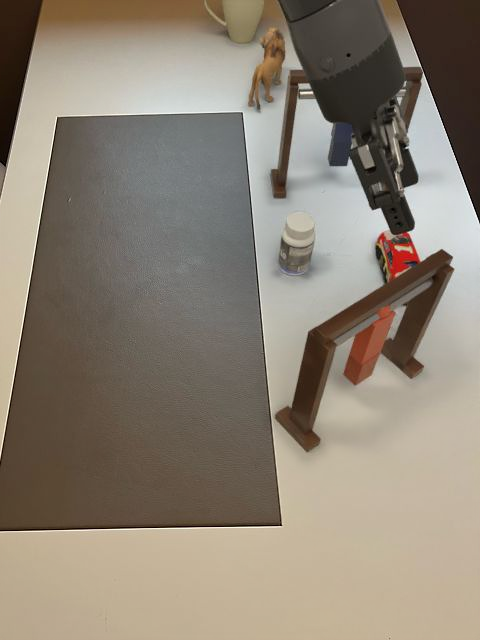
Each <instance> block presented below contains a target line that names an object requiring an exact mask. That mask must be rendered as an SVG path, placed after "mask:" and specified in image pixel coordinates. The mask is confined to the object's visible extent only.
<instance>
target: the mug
mask: <svg viewBox="0 0 480 640" xmlns="http://www.w3.org/2000/svg"><path fill="white" fill-rule="evenodd" d="M221 1H222V11H223V16H224V20H222V19H221V18H220V17H219V16H217V14H215V13H214V11H212V10H211V8H210V7H209V5H208V2H207V0H203V4H204V7H205V9H206V11H207V13H209V15H210V16H211V17H212V18H213V19H214V20H215V21H216V22H217V23H219V24H221V26H223V27H226V28H227V31H228V36H229V39H230V40H231V41H232V42H233V43H237V44H247V43H250V42H251V41H253V39H254V37H255V35H256V32H257V29H258V26H259V23H260V20H261V18H262V14H263V11H264V6H265V1H266V0H221Z"/></svg>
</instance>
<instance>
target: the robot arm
mask: <svg viewBox="0 0 480 640" xmlns="http://www.w3.org/2000/svg"><path fill="white" fill-rule="evenodd" d="M275 1H276V3H277V6H278V8H279V10H280V12H281V15H282V17H283V19H284V21H285V24H286V27H287V30H288V33H289V36H290V40H291V44H292V47H293V50H294V53H295V55H296V57H297V59H298V62H299V64H300V66H301V70H303V71H304V73H305V75H306V78H307V80H308V82H309V83H308V85H309V87H310V89H312V91H313V94H314V96H315V98H316V99H315V101H316V103H317V106H318V108H319V109H320V112H321V114H322V116H323V118H324V120H325V121H326V122H327V123H330V124H333V123H336V124H338V123H348V124H351V126H352V127H353V132H354V134H351V141H352V147H351V149H350V150H349V160H350V161H351V163H352V166H353V168H354V171H355V173H356V176H357V177H358V180H359V184H360V185H361V188H362V191H363V193H364V194H365V198H366V200H367V203H368V206H369V208H370V209H371V211H376V210H378V209H380V210H381V212H382V215H383V217H384V220H385V221H386V224H387V227H388V229H389V230H390V232H391V233H392V234H393V235H400V234H403V233H406V232H407V233H409V232H412V231H413V230H415V225H416V220H415V217H414V216H413V213H412V210H411V208H410V206H409V203H408V200H407V198H406V195H405V189H406V188H409V187H412V186H414V185H417V184H418V182H419V172H418V170H417V167H416V164H415V162H414V159H413V156H412V153H411V151H410V148H409V147H410V138H409V137H408V133H409V128H408V124H406V121H405V119H404V116H403V113H402V111H401V108H400V103H399V101H398V97H396V94H397V93H398V92H399V91H400V90H401V88H402V87H403V86H405V84H406V81H405V79H406V75H405V71H404V68H403V67H404V65H403V62H402V59H401V56H400V54H399V51H398V48H397V45H396V42H395V39H394V37H393V36H394V35H393V33H392V31H391V28H390V25H389V22H388V19H387V16H386V13H385V11H384V8H383V4H382V3H381V0H275ZM381 182H385V183H386V185H387V187H388V188H386V189H383V188H382V189H381V187H380V184H381Z"/></svg>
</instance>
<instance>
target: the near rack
mask: <svg viewBox="0 0 480 640" xmlns="http://www.w3.org/2000/svg"><path fill="white" fill-rule="evenodd" d="M453 259H454V256H452V255H451V254H450V253H449V252H447V251H446V250H444V249H443V248H441V249H439V250H438V251H436V252H435V253H431V254H430V255H429V256H426V258H425V259H423V260H422V261H421V260H420V263H418V264H417V265H415V266H413V267H412V268H410V269H409V270H407V271H405V272H404V273H402V274H401V275H399V276H397V277H396V278H394V279H393V280H391V281H389V282H388V283H385V284H383V285H382V286H380V287H377V289H375V290H373V291H372V292H370V293H369V294H367V295H364V296H363V297H361V298H360V299H359V300H357V301H355V302H354V303H353V304H351V305H349V306H347V307H346V308H344V309H342V310H341V311H340V312H338V313H336V314H335V315H333V316H331V317H330V318H328V319H327V320H325V321H323V322H322V323H320V324H319V325H316V326H314V327H312V328H311V329H309V330H308V331H307V336H306V339H305V340H306V341H305V345H304V349H303V352H302V353H303V354H302V358H301V363H300V368H299V371H298V376H297V381H296V384H295V385H296V386H295V390H294V394H293V398H292V404H291V406H289V405H286V406H285V407H283V408H282V409H280V410H279V411H277V412H276V413H275V416H274V419H275V420H276V421H277V422H278V423H279V424H280V426H282V427H283V429H284V430H285V431H286V432H287V433H288V434H289V435H290V436H291V437H292V438H293V439H294V440H295V441H296V443H298V444H299V445H300V446H301V448H302V449H304V451H305V452H306V453H309V452H311V451H312V450H313V449H315V448H316V447H317V446H319V445H320V443H321V441H322V439H321V437H319V435H317V434H316V432H315V431H314V427H315V423H316V419H317V416H318V412H319V408H320V406H321V402H322V399H323V395H324V391H325V388H326V386H327V382H328V378H329V375H330V370H331V368H332V365H333V361H334V357H335V353H336V351H337V348H338V347H337V344H336V343H335V342H334V341H333V339H335V338H336V337H338V336H339V335H341V334H342V333H344V332H346V331H347V330H349V329H350V328H352V327H353V326H355V325H357V324H358V323H360V322H361V321H363V320H364V319H366V318H368V317H369V316H371V315H372V314H374V313H375V312H377V311H378V310H380V309H382V308H383V307H385V306H386V305H388V304H389V303H391V302H393V301H394V300H396V299H397V298H399V297H400V296H402V295H404V294H405V293H407V292H408V291H410V290H411V289H413V288H415V287H416V286H418V285H419V284H421V283H422V282H424V281H425V280H427V279H429V278H430V277H432V279H433V281H434V283H433V285H432V286H431V287H429V288H428V289H426V290H424V291H423V292H421V293H420V294H418V295H417V296H415V297H414V298H412V299H411V300H409V302H408V304H406V307H405V309H404V312H403V314H402V316H401V319H400V322H399V324H398V326H397V329H396V331H395V334H394V336H393V338H392V337H389V338H388V339H387V338H386V339H385V342H384V345H383V347H382V350H381V352H380V354H382V355H383V356H385V358H387V360H388V361H390V362H391V363H393V364H394V366H396V367H397V369H399V370H401V372H402V373H404V374H405V375H406V376H408V378H410V379H411V380H412V379H414V378H415V377H416V376H418V375H419V374H421V373H422V372H423V370H424V368H425V365H424V364H422V363H421V362H420V361H419V360H418V359H416V358H415V355H416V353H417V351H418V349H419V347H420V344H421V343H422V340H423V338H424V336H425V334H426V332H427V329H428V327H429V325H430V323H431V321H432V319H433V317H434V315H435V313H436V310H437V308H438V307H439V304H440V302H441V300H442V298H443V295H444V293H445V291H446V289H447V286H448V284H449V282H450V280H451V279H452V276H453V273H455V268H454V267H453V266H451V263H452V261H453Z"/></svg>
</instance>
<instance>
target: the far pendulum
mask: <svg viewBox="0 0 480 640" xmlns="http://www.w3.org/2000/svg"><path fill="white" fill-rule="evenodd" d="M405 94H406V87H405V85H403V87H402V88H401V90H400V91H399V92H398V93H397V94H396V97H397V98H402V97H404V96H405ZM297 100H298V101H299V100H300V101H301V100H316V98H315V96H314V94H313V91H312V89H311V88H299V90H298V97H297ZM351 134H354V132H353V127H352V126H351V124H348V123H338V124H336V123H332V128H331V133H330V136H331V139H330V143H329V148H328V154H327V161H328V164H329V165H328V166H329V167H331V168H332V167H348V164H349V160H350V157H349V150H350V149H352V148H353V145H352V141H351Z"/></svg>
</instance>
